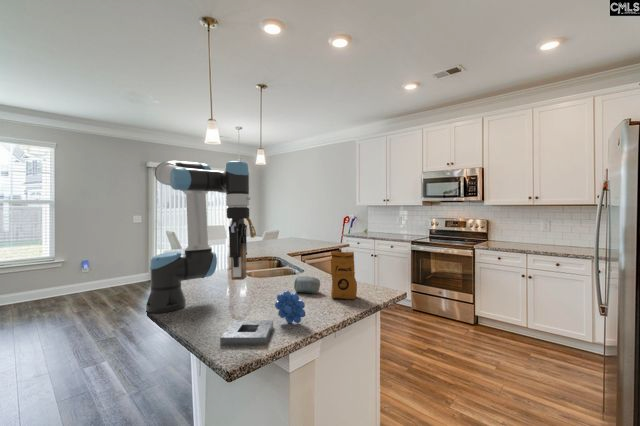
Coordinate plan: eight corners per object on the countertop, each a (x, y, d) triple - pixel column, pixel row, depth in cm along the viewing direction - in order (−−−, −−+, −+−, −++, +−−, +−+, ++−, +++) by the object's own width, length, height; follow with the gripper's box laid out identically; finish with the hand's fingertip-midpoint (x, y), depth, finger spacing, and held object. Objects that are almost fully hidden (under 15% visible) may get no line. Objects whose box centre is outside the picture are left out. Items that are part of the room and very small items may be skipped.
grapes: (271, 326, 104) (270, 293, 104) (277, 319, 111) (277, 288, 111) (302, 329, 102) (302, 295, 102) (307, 321, 108) (306, 289, 108)
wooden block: (231, 279, 98) (230, 244, 98) (235, 277, 102) (234, 242, 102) (243, 279, 97) (242, 243, 98) (246, 277, 101) (245, 242, 102)
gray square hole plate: (220, 345, 90) (220, 337, 90) (234, 327, 104) (233, 320, 104) (265, 345, 90) (265, 337, 90) (273, 327, 104) (273, 320, 104)
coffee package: (356, 301, 132) (356, 253, 132) (329, 299, 135) (329, 252, 135) (357, 295, 142) (357, 250, 142) (332, 293, 145) (332, 249, 144)
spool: (288, 287, 145) (296, 268, 148) (295, 291, 153) (303, 273, 156) (311, 297, 139) (319, 278, 142) (317, 301, 147) (325, 282, 150)
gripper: (241, 206, 91) (243, 280, 91) (254, 207, 108) (255, 270, 108) (218, 206, 91) (219, 281, 91) (234, 207, 108) (235, 270, 108)
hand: (239, 275), depth 99 cm, fingers closed on wooden block, 4 cm apart
